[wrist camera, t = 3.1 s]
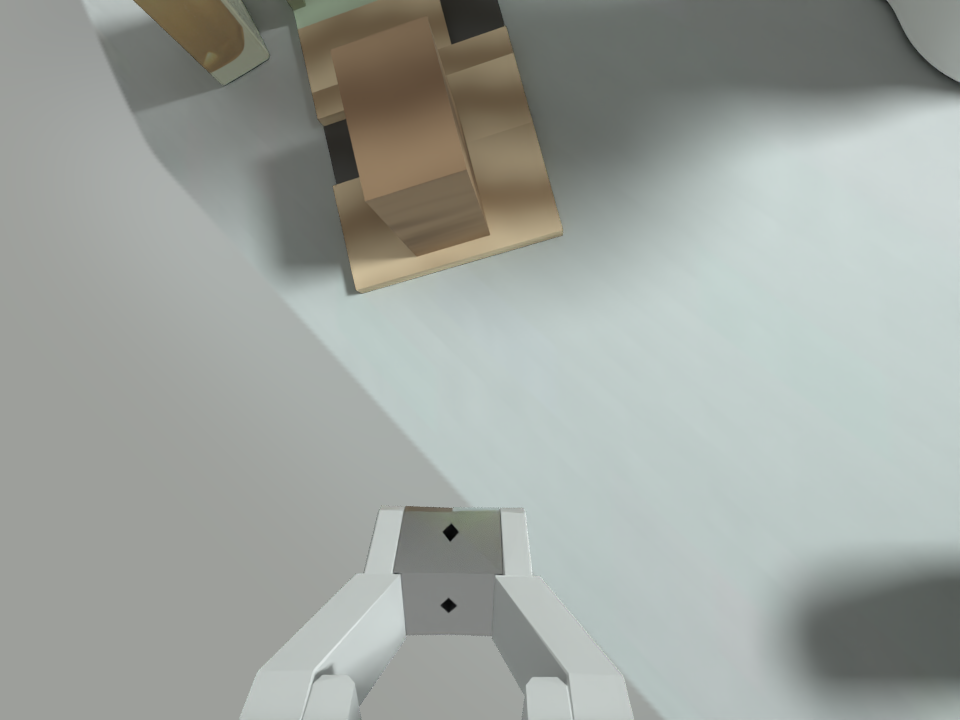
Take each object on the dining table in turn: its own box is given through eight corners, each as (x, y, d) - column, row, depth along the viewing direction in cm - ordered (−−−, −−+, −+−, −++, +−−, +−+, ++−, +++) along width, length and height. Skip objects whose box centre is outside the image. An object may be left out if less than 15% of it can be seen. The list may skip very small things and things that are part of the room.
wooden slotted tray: (562, 235, 31) (564, 208, 27) (361, 293, 33) (332, 277, 29) (467, -107, 34) (455, -183, 30) (287, -38, 36) (250, -100, 32)
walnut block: (490, 235, 31) (466, 169, 22) (416, 256, 32) (365, 201, 23) (460, 121, 32) (426, 15, 23) (389, 145, 33) (330, 49, 24)
